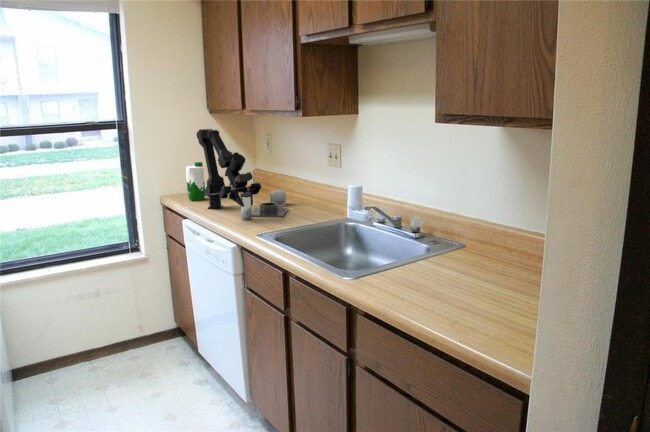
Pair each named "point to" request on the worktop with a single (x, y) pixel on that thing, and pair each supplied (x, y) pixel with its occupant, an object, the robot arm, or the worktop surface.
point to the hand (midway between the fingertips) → (247, 205)
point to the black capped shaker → (246, 205)
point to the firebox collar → (269, 210)
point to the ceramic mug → (277, 197)
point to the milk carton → (195, 182)
